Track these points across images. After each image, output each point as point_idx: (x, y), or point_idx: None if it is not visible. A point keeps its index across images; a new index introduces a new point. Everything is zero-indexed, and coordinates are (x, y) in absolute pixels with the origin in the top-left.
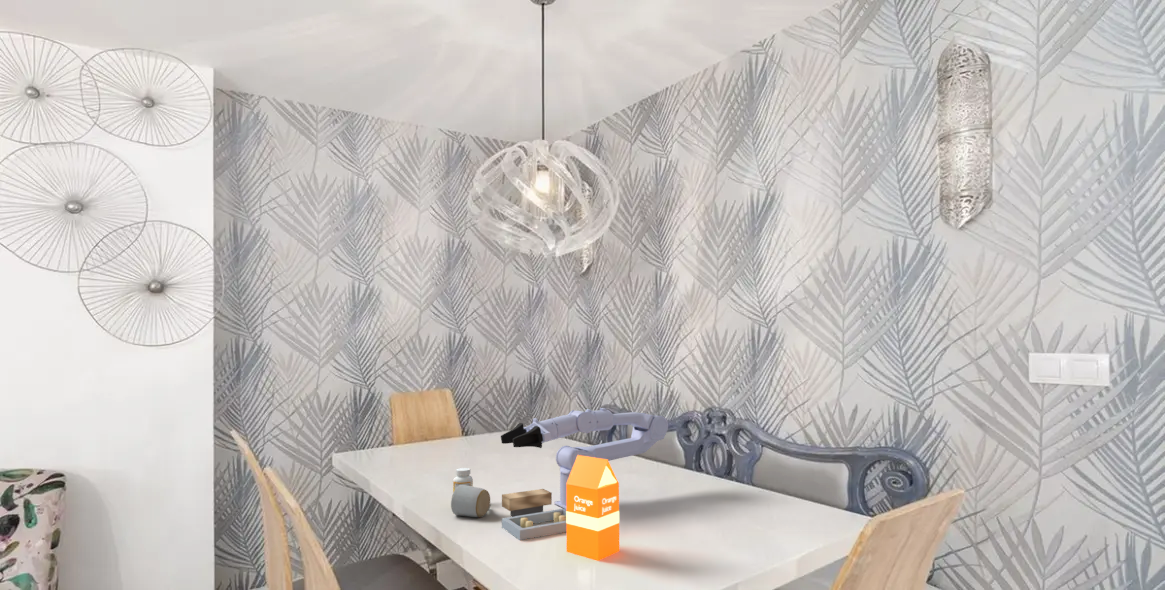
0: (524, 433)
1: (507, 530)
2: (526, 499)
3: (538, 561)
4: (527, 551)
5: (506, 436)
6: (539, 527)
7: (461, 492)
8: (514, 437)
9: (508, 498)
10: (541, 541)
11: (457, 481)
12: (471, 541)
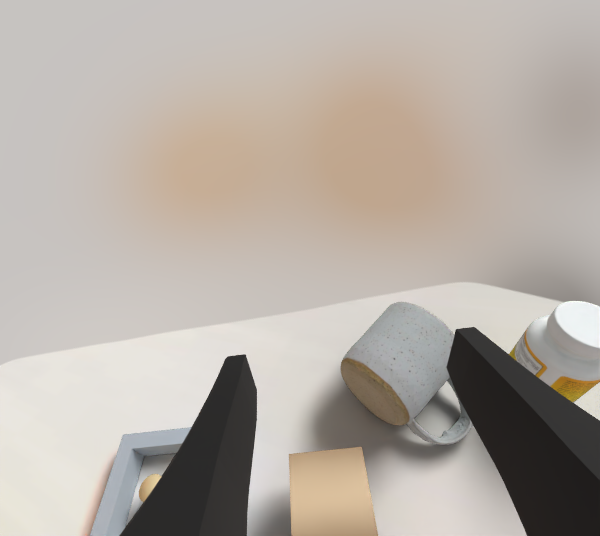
0: (213, 457)
1: None
2: None
3: (5, 435)
4: (66, 433)
5: (477, 373)
6: (100, 506)
7: (384, 317)
8: (524, 470)
9: (299, 453)
10: (83, 499)
11: (531, 324)
12: (206, 344)
